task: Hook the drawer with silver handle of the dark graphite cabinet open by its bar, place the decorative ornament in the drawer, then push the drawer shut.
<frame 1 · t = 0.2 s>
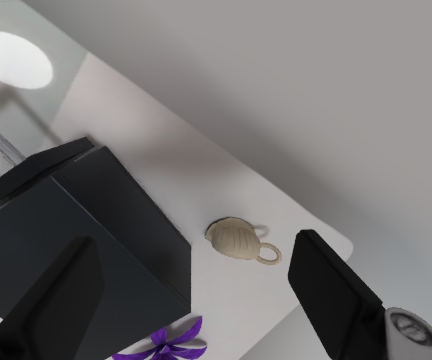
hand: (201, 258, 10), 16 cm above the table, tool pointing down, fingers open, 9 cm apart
cabinet: (112, 227, 26), on the table
drawer with silver handle: (51, 213, 20), point 5 cm above the table, slide at 0.5 cm
decorative ornament: (235, 231, 29), on the table
decorative flower: (164, 336, 35), on the table
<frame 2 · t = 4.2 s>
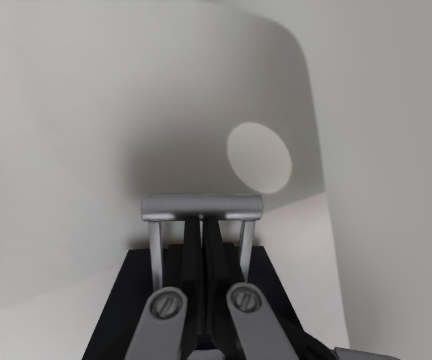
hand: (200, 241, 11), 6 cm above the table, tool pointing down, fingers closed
drawer with silver handle: (198, 327, 15), point 5 cm above the table, slide at 1.5 cm, touching gripper
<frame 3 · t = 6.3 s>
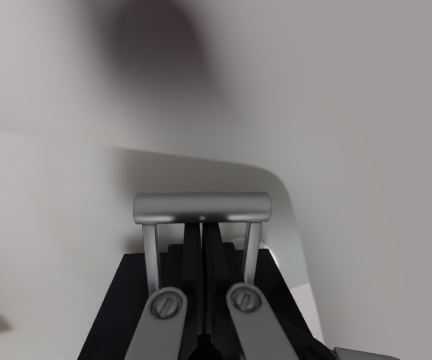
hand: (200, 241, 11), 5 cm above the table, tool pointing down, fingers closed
drawer with silver handle: (199, 337, 14), point 5 cm above the table, slide at 11.5 cm, touching gripper
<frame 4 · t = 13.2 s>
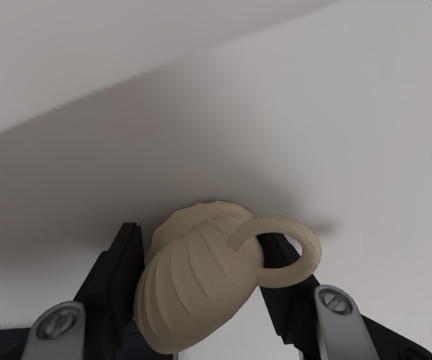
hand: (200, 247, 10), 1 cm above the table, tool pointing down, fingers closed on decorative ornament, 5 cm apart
decorative ornament: (206, 233, 12), on the table, touching gripper
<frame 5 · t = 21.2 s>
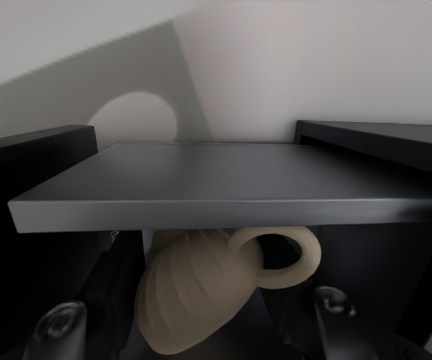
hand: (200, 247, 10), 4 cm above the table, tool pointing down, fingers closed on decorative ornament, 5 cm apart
cabinet: (383, 208, 16), on the table
drawer with silver handle: (144, 262, 10), point 5 cm above the table, slide at 11.6 cm
decorative ornament: (206, 233, 12), point 3 cm above the table, touching gripper
when the fingers open (5 cm above the table, at t = 29.7 s): decorative ornament drops 2 cm, resting on drawer with silver handle.
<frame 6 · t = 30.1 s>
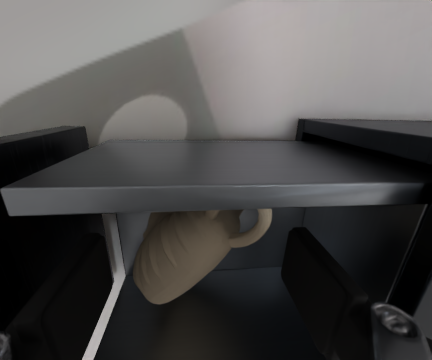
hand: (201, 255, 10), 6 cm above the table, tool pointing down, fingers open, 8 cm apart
cabinet: (382, 200, 17), on the table
drawer with silver handle: (132, 251, 10), point 5 cm above the table, slide at 13.1 cm, touching decorative ornament, gripper
decorative ornament: (195, 215, 13), point 2 cm above the table, touching drawer with silver handle
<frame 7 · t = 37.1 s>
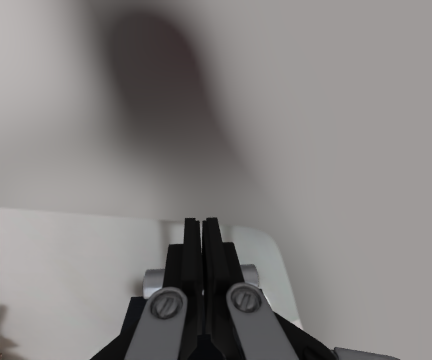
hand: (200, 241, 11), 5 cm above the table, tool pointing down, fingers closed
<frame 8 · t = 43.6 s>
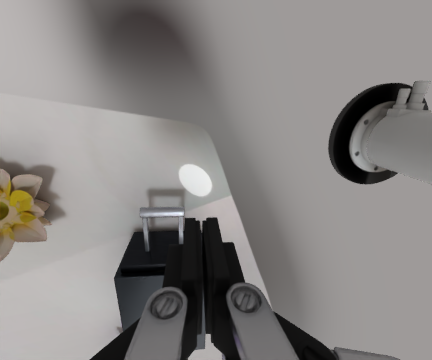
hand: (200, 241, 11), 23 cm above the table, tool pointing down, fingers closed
decorative flower 2: (19, 195, 32), on the table
cabinet: (170, 269, 40), on the table
drawer with silver handle: (166, 266, 34), point 5 cm above the table, slide at 0.0 cm, touching decorative ornament
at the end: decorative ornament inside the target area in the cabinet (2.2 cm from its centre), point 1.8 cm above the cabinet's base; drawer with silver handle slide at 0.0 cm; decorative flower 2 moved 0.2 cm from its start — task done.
